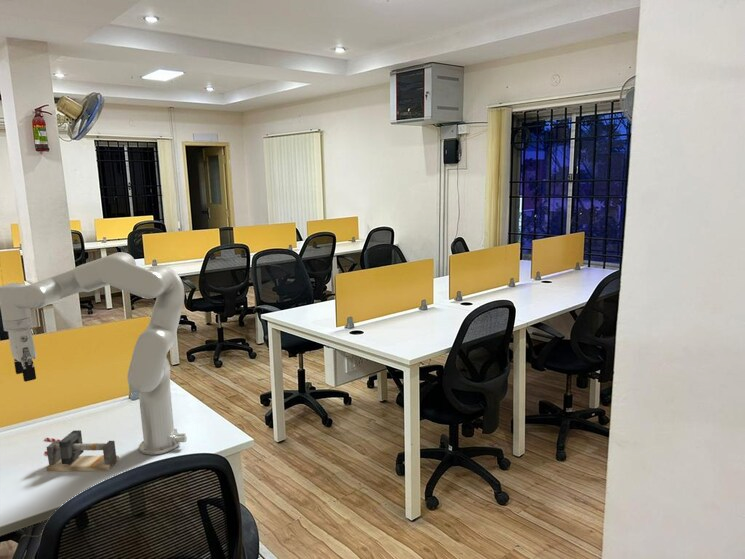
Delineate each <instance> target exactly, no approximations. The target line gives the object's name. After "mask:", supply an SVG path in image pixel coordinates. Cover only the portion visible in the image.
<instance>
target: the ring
mask: <svg viewBox="0 0 745 559" xmlns="http://www.w3.org/2000/svg"><path fill="white" fill-rule="evenodd" d="M60 440H61V441H60V442H59V447H60V454H61V461H62V464H70V463H72V462H73V461H74V460H75V459H76V458H77V457H78V456H82V454H83V453H84V451H85V450H72V449H71V444H84V443H83V436H82V430H72V431H70V433H68V434H67V435H66V436H65V437H63V439H60Z"/></svg>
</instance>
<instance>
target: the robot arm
mask: <svg viewBox="0 0 745 559" xmlns="http://www.w3.org/2000/svg"><path fill="white" fill-rule="evenodd" d="M107 286H111V287H113V288H116V289H118V290H121V291H124V292H127V293H128V294H132V295H135V296H138V297H140V298H144V299H150V300H151V299H155V298H156V299H155V302H154V305H153V307H152V312H151V316H150V320H149V323H148V326H147V327H146V329H144V330H143V332H142V333H141V334H140V335H139V337H138V338H137V340H136V342H135V345H134V348H133V352H132V355H131V359H130V363H129V368H128V371H127V377H126V378H127V383H128V386H129V388H130V389H131V390H132V391H133V392H136V393H137V394H138V399H139V409H140V419H141V428H142V429H141V430H142V437H143V440H142V441H141V442H140V443H139V444H138V449H139V452H140V453H142V454H144V455H153V456H154V455H160V454H166V453H169V452H171V451H173V450H174V449H176V448H177V447H178V446H179V445H180V444H181V443H186V442H187V437H188V436H186V433H179V432H178V429H177V428H175V425H174V415H173V405H172V392H171V364H170V361H169V359H168V358H167V355H168V352H169V351H170V349H171V348H172V347H173V345H174V344H175V341H176V335H177V332H178V328H179V325H180V324H179V323H180V320H181V316H182V311H183V307H184V302H185V286H184V283H183V281H182V279H181V277H180V276H179V274H178V273H177V272H176V271H175V270H173V268H171V267H169V266H167V265H163V264H162V265H161V264H160V265H159V264H158V265H154V266H152V267H149V268H147V269H146V268H144V267H140V266H138V265H137V263H136V260H135V258H134V257H133V256H132V255H131V254H129V253H127V252H123V251H121V252H119V251H118V252H114V253H111V254H109V255H107V256H104V257H101V258H98V259H95V260H91V261H88V262H86V263H83V264H80V265H78V266H75V267H74V268H73V269H71V270H68V271H65V272H62V273H60V274H57V275H54V276H51V277H48V278H45V279H41V280H39V281H37V282H34V283H31V284H28V285H26V284H24V283H19V282H18V283H17V282H16V283H14V282H13V283H8V284H6V283H5V284H4V285H1V286H0V313H1V319H2V326H3V331H4V332H8V339H9V346H10V352H11V355H12V357H13V360H14V361H13V363H14V369H15V374H16V375H20V374H22V376H23V381H24V382H30V381H33V380H36V379H37V375H36V369H35V363H34V361H33V360H36V359H37V357H38V356H37V352H36V347H35V346H36V345H35V343H34V342H35V341H34V336H33V333H32V330H31V328H33V327H34V326H33V317H32V312H31V309H32V310H37V309H41V308H44V307H46V306H48V305H50V304H52V303H54V302H57V301H59V300H62V299H64V298H67V297H70V296H73V295H75V294H79V293H82V292H85V293H90V292H93V291H96V290H99V289H102V288H104V287H107Z"/></svg>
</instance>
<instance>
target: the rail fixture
mask: <svg viewBox="0 0 745 559" xmlns="http://www.w3.org/2000/svg"><path fill="white" fill-rule="evenodd" d="M59 442H60V441H54V442H51V443H50V444H49V445H48V446H46V451H47V454H48V456H47V459H48V460H47V461H48V465H47V466H46V467H45V470H46V472H99V471H100V472H102V471H103V472H106V471H107V472H108V471H109V470H110V469H111V468H113V466H114V465H115V464H116V463H117V462H118V461H119V460H120V455H117V451H116V442H115V440H107V442H105V443H97V442H96V443H83V444H71V449H72V450H84V451H102V453H103V454H102V455H79V456H78V457H77V458H76V459H75V460H74V461H73V462H72V463H70V464H62V461H61V454H60V447H59Z"/></svg>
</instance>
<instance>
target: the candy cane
mask: <svg viewBox="0 0 745 559" xmlns="http://www.w3.org/2000/svg"><path fill="white" fill-rule="evenodd" d="M61 440H62V439H58V438H51V437H44V441H45V442H51V443H53V442H54V441H61ZM44 454H45V456H47V457H48V454H47V450H46V451H45V452H44Z"/></svg>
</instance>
